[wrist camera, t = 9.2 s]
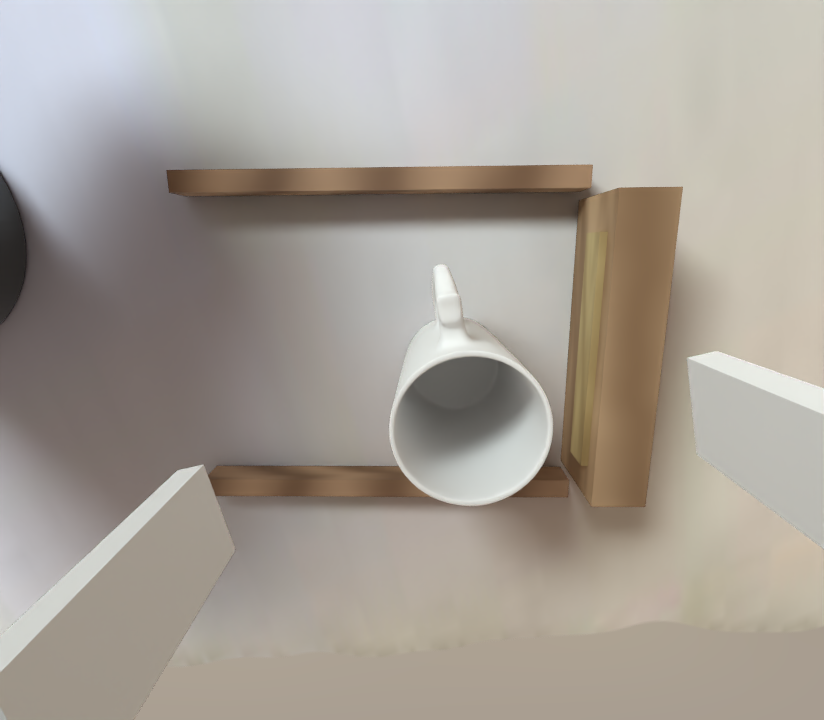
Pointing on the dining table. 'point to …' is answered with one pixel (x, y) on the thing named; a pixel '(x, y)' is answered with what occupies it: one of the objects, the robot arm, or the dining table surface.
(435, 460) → the mug
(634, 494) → the end stop
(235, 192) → the guide lane
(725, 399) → the robot arm
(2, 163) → the dining table surface
